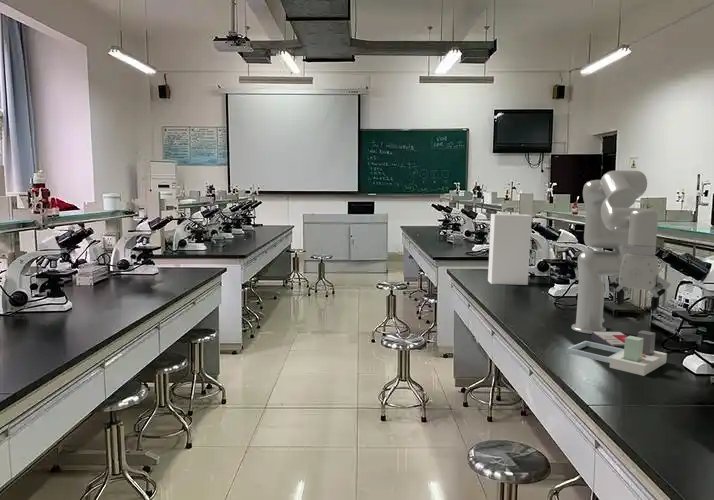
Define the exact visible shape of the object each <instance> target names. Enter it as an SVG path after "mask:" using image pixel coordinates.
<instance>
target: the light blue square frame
mask: <svg viewBox="0 0 714 500" xmlns="http://www.w3.org/2000/svg"><path fill="white" fill-rule="evenodd" d="M586 347H589V348H593V349H599V350H603V351H607V352H612V353H613V354H611V355H609V356H605V355H602V354H601V355H600V354H596V353H592V352H589V351H588V352H587V351H584V350H582V349H584V348H586ZM621 352H624V349H621V348H616V347H612V346H607V345H603V344H600V343H598V342H594V341H588V340H584V341H582V342H580V343H579V342H578V343H577V344H574V345H572V346H569V347H567V348H566V354H571V355H574V356H578V357H583V358H587V359H592V360H596V361H600V362H605V363H609V364H610V358H611V357H613V356H615V355H617V354H619V353H621Z"/></svg>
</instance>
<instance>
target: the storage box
mask: <svg viewBox="0 0 714 500" xmlns="http://www.w3.org/2000/svg"><path fill="white" fill-rule="evenodd" d="M532 218H533V216H532V215H531V214H521V213H520V214H513V213H512V214H511V213H506V214H505V213H490V227H489V229H490V230H489V231H490V232H489V247H488V248H489V249H488V271H487V273H488V274H487V282H489V284H491V285H517V286H519V285H520V286H524V285H525V286H528V285H529V272H530V271H529V270H530V255H531V253H530V252H531V251H530V250H531V235H532V233H531V232H532Z"/></svg>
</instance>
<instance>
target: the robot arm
mask: <svg viewBox="0 0 714 500" xmlns="http://www.w3.org/2000/svg"><path fill="white" fill-rule="evenodd" d="M647 187H648V179H647V176H646V175H645V173H644V172H643V171H640V170H609V171H607V172H606V173H604V174H603V176H602V177H601V179H594V180H593V179H591V180H589V181H586V183H584V185H583V189H582V198H583V202H584V207H585V223H584V231H583V232H584V233H583V241H584V245H585V246H587V247H589V248H593V249H594V248H595V249H612V251H610V250H609V251H608V250H607V251H606V250H586V251H583V252H581V253H580V254H579V255H578V257H577V272H578V287H577V304H576V317H575V318H576V319H575V323H573V324H571V329H572V330H573V331H575V332H579V333H583V334H590V335H592V332H607V328H606V327H604V326H603V323H604V322H605V318H604V303H605V302H604V300H605V285H604V283H603V282H602V280H601V278H599V276H600V277H601V276H604V277H605V276H606V277H608V278H609V281H610V283H611V286H612V287H613V288H614V290H615V292H616V302H617V305H619V306H620V305H623V304H624V303H625V291H624V290H625V288H627V289H635V290H642V291H649V292H650V293H651V294H652V297H651V299H650V300H651V301H650V310H651V311H656V310H657V309H659V306H660V297H661V296H662V295H664V294H665V293H667V291H668V290H669V288H670V287H671V286H672V284H671V283H670V282H669V281H668V280H665V279H664V278H662V277H661V276H660V273H659V270H660V269H659V267H660V266H659V260H658V259H659V258H658V256H656V249H657V248H656V246H657V237H658V236H657V235H658V227H659V226H658V225H659V224H658V223H659V213H658V212H657V211H656V210H653V209H649V208H645V207H643V208H642V207H633V205H634V204H635V202H636V200H637V199H639V198H640V197H642V196H643V195H644V193H646V190H647ZM617 279H618V282H617ZM659 284H660V285H662V288H661V289H660V290H659V288H658V287H659Z"/></svg>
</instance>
